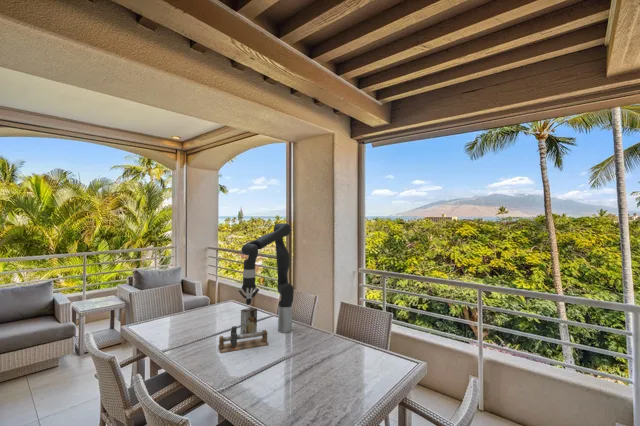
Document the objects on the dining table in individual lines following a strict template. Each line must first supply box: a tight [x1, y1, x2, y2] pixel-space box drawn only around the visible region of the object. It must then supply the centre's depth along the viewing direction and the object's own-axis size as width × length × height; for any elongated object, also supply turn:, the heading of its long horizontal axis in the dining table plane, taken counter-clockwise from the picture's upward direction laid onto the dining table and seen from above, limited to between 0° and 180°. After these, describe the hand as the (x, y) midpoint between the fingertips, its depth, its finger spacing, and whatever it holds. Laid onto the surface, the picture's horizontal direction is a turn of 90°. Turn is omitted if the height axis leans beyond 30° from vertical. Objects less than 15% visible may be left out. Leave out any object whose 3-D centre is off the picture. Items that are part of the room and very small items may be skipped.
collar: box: [229, 325, 238, 347], centre depth 169 cm, size 2×7×10 cm, turn 26°
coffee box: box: [239, 306, 258, 335], centre depth 192 cm, size 9×6×16 cm
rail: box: [217, 329, 269, 354], centre depth 172 cm, size 28×10×7 cm, turn 116°
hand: (248, 304), depth 174 cm, fingers closed
